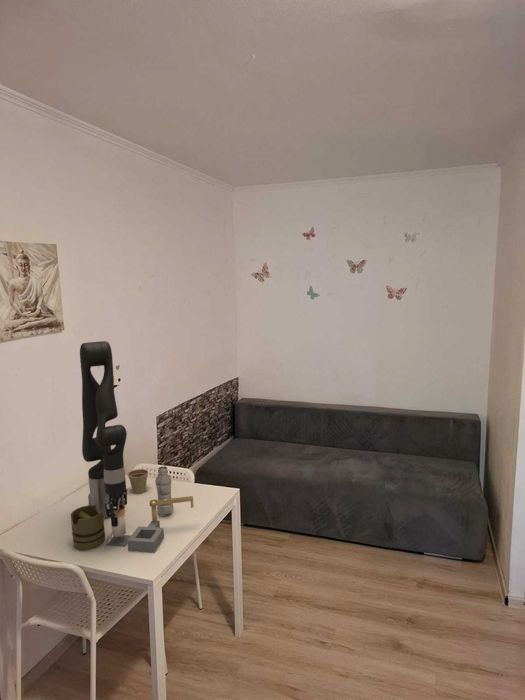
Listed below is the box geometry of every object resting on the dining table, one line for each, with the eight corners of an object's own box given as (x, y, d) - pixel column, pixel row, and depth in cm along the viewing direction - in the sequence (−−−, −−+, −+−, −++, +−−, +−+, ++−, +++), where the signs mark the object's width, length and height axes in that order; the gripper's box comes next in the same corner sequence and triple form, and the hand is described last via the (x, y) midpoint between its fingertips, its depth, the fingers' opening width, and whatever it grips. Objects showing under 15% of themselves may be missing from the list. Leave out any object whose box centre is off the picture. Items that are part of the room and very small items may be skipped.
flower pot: (146, 495, 219) (145, 477, 218) (126, 495, 219) (124, 477, 218) (151, 486, 229) (150, 468, 227) (131, 486, 229) (130, 469, 227)
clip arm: (193, 508, 188) (193, 498, 187) (150, 513, 185) (149, 503, 184) (193, 504, 191) (192, 495, 190) (150, 509, 187) (149, 499, 187)
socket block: (128, 550, 175) (125, 523, 173) (144, 529, 189) (142, 503, 188) (154, 552, 173) (152, 524, 171) (168, 530, 188) (167, 505, 186)
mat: (106, 545, 179) (106, 544, 178) (115, 535, 185) (114, 534, 185) (124, 546, 177) (124, 545, 177) (132, 536, 184) (132, 535, 184)
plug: (122, 537, 178) (121, 515, 177) (109, 536, 179) (107, 514, 177) (128, 530, 183) (127, 508, 182) (115, 529, 184) (114, 508, 182)
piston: (93, 502, 187) (108, 511, 180) (96, 531, 189) (111, 541, 181) (65, 513, 179) (79, 523, 171) (68, 543, 181) (82, 554, 173)
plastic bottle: (170, 518, 198) (167, 471, 195) (154, 517, 199) (151, 470, 196) (176, 510, 204) (173, 465, 201) (161, 509, 205) (158, 464, 202)
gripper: (115, 487, 170) (119, 532, 173) (132, 471, 184) (135, 513, 187) (95, 486, 171) (99, 531, 174) (114, 470, 185) (117, 512, 188)
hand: (118, 522), depth 180 cm, fingers closed on plug, 5 cm apart
